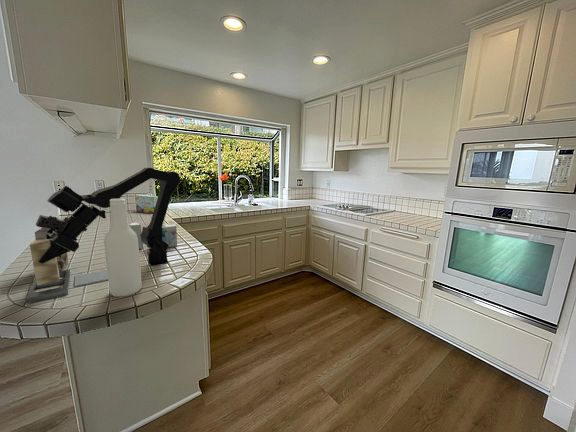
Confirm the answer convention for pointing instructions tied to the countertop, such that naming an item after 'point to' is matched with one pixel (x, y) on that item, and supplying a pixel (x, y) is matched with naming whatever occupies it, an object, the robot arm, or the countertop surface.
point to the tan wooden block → (43, 270)
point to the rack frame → (49, 293)
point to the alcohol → (122, 253)
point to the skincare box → (137, 233)
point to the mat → (91, 278)
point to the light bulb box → (170, 234)
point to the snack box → (145, 203)
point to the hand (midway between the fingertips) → (39, 260)
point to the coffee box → (61, 259)
